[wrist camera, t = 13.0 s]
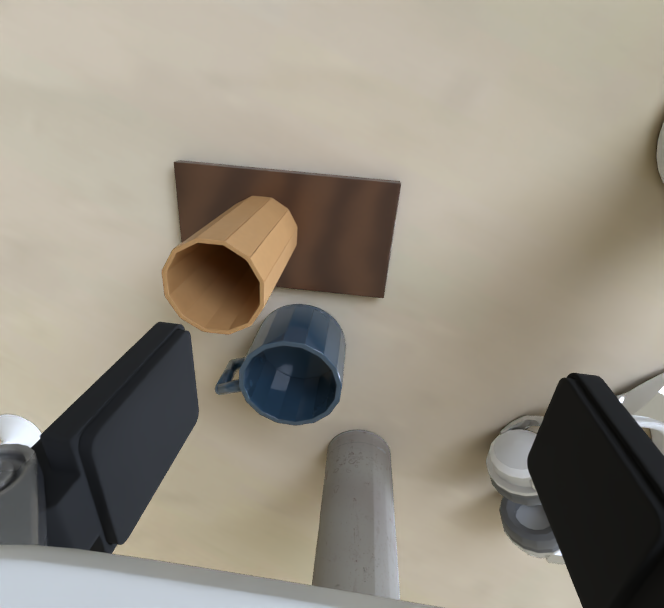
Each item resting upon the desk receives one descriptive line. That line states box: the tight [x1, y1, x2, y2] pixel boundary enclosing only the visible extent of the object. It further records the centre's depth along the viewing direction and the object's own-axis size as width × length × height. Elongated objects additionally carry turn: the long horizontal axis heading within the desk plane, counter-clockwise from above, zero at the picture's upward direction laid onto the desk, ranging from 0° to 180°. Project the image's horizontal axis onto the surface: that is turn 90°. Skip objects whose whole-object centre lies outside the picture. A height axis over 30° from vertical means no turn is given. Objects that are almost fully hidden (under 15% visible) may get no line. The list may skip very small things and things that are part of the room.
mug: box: [215, 304, 346, 425], centre depth 40 cm, size 13×10×8 cm
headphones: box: [486, 373, 664, 564], centre depth 44 cm, size 22×8×22 cm
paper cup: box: [162, 196, 297, 334], centre depth 31 cm, size 7×7×13 cm
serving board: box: [174, 161, 401, 298], centre depth 37 cm, size 20×11×1 cm, turn 86°
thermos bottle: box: [312, 430, 400, 600], centre depth 37 cm, size 8×8×28 cm
